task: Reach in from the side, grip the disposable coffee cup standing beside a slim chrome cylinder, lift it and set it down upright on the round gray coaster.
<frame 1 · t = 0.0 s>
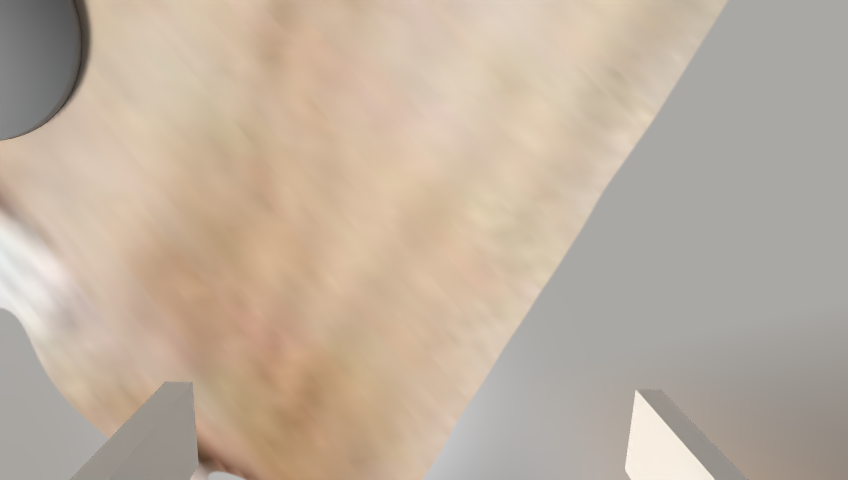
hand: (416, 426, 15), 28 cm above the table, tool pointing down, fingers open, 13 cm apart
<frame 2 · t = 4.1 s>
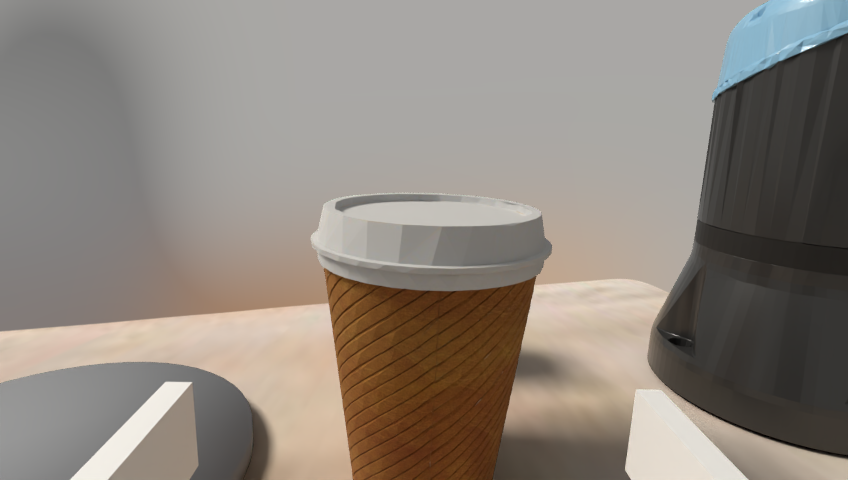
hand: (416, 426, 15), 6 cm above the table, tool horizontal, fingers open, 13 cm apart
disposable coffee cup: (422, 472, 22), on the table
round gray coaster: (43, 473, 21), on the table
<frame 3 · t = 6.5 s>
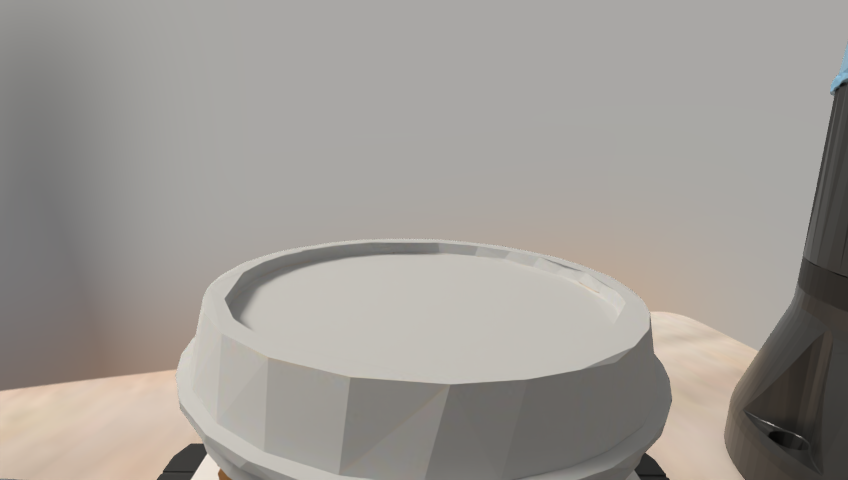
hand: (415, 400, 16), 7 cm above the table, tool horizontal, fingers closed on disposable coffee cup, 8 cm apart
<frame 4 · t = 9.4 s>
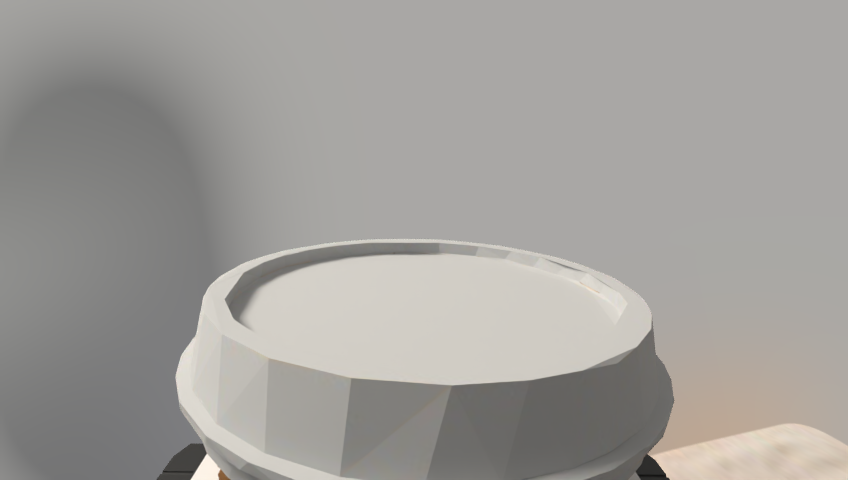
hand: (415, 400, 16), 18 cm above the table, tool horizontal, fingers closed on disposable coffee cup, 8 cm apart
when the fingers open (9 cm above the table, at t = 12.2 s): disposable coffee cup drops 1 cm, resting on round gray coaster.
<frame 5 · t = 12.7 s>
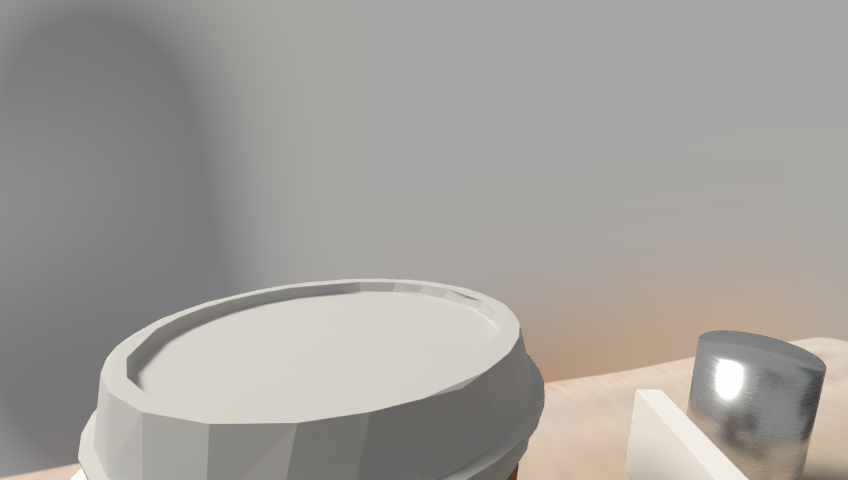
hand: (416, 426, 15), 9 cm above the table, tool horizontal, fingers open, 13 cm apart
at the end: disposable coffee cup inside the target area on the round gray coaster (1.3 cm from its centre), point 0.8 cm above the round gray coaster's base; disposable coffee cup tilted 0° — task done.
